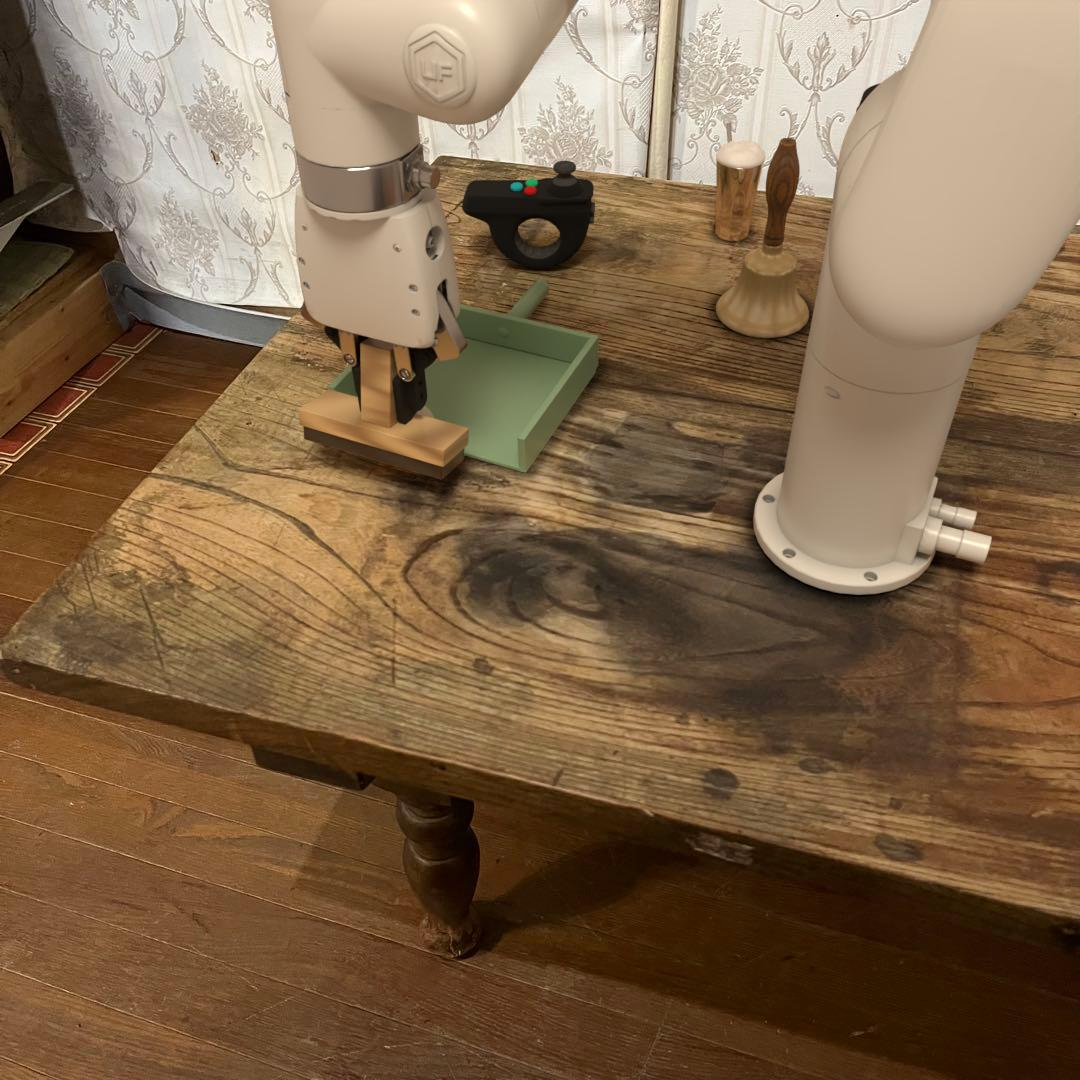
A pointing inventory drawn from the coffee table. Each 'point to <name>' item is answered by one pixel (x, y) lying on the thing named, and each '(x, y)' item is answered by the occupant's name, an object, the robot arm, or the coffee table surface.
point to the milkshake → (736, 186)
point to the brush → (382, 421)
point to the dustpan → (507, 380)
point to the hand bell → (769, 264)
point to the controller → (534, 213)
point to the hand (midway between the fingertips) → (393, 406)
